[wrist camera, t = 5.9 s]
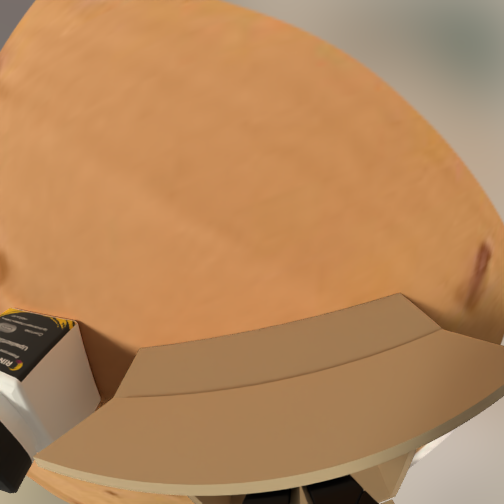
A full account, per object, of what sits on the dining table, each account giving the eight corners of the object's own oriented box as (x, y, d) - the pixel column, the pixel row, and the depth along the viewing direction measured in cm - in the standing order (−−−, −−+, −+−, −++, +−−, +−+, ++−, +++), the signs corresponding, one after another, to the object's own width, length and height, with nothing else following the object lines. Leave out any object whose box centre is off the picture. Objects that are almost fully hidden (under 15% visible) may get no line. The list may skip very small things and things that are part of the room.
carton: (380, 461, 20) (395, 496, 15) (227, 493, 21) (226, 530, 16) (399, 292, 15) (446, 332, 10) (139, 348, 15) (110, 402, 11)
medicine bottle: (79, 318, 15) (-35, 448, 3) (103, 399, 17) (43, 522, 5) (10, 305, 15) (-91, 387, 3) (36, 380, 16) (-31, 470, 5)
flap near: (116, 405, 10) (113, 397, 10) (442, 337, 10) (442, 328, 10) (38, 466, 4) (32, 456, 4) (537, 366, 4) (539, 354, 4)
